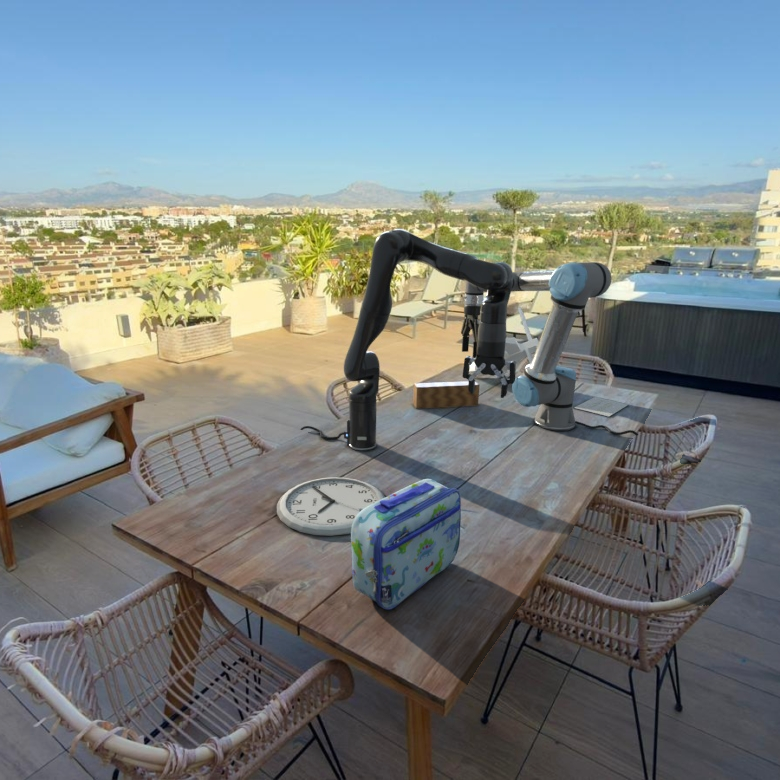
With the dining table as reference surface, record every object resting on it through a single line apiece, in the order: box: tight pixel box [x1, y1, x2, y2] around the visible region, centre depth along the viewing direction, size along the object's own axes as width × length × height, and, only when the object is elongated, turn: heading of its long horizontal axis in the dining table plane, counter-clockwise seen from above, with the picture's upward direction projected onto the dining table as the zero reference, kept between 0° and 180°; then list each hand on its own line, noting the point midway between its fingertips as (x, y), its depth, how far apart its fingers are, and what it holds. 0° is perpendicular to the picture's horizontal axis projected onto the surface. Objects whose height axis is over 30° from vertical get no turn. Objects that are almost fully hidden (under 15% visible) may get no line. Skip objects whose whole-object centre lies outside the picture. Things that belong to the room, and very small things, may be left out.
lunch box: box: [350, 478, 462, 611], centre depth 110 cm, size 26×11×21 cm, turn 135°
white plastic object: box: [469, 306, 540, 377], centre depth 259 cm, size 37×45×31 cm
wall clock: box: [276, 476, 386, 537], centre depth 142 cm, size 30×2×30 cm
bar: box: [412, 380, 480, 410], centre depth 224 cm, size 27×6×9 cm, turn 101°
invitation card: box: [573, 396, 629, 418], centre depth 226 cm, size 21×1×15 cm
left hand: (487, 395), depth 146 cm, fingers open, 8 cm apart
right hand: (470, 355), depth 221 cm, fingers open, 13 cm apart
